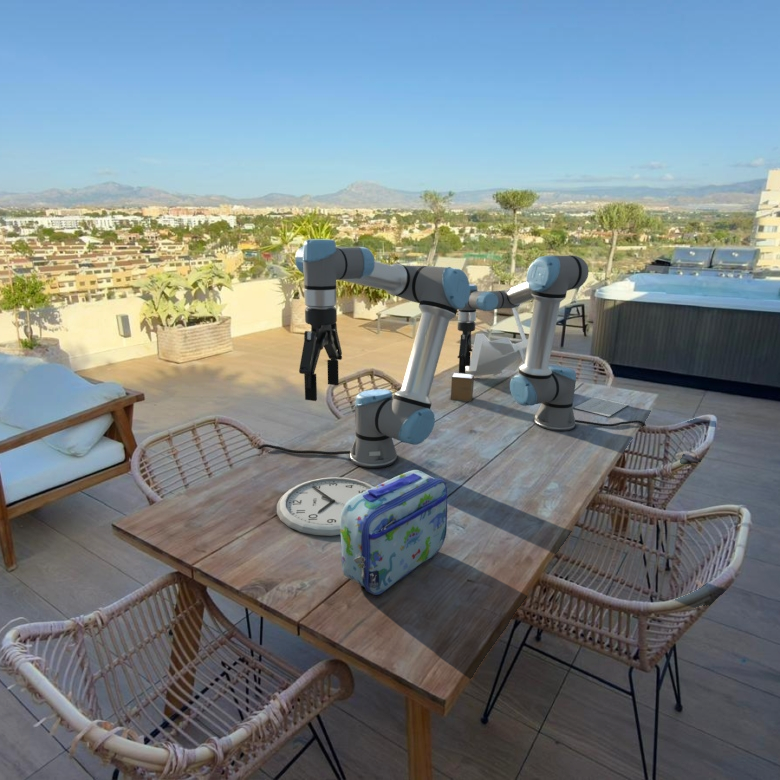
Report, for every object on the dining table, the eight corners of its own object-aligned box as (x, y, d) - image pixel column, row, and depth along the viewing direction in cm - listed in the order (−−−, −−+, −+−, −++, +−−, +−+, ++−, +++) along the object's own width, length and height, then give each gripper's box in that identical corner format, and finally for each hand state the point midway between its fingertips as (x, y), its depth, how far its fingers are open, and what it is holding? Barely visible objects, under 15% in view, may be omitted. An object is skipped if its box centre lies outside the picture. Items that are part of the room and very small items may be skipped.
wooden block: (453, 395, 238) (454, 373, 235) (472, 397, 236) (474, 374, 233) (450, 399, 233) (451, 376, 230) (470, 401, 230) (472, 378, 227)
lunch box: (368, 607, 104) (369, 515, 98) (334, 582, 112) (333, 494, 106) (451, 554, 122) (455, 472, 116) (417, 535, 129) (420, 457, 123)
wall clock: (392, 527, 129) (268, 531, 127) (391, 533, 130) (269, 537, 127) (383, 473, 158) (282, 475, 155) (383, 478, 158) (282, 480, 156)
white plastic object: (482, 418, 266) (461, 395, 241) (463, 346, 288) (443, 318, 264) (553, 394, 254) (538, 368, 229) (528, 321, 276) (512, 289, 251)
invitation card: (608, 416, 214) (573, 407, 224) (608, 416, 214) (573, 408, 224) (628, 404, 229) (594, 396, 238) (628, 405, 229) (594, 397, 238)
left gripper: (327, 299, 137) (328, 377, 143) (281, 313, 114) (285, 405, 120) (353, 301, 135) (354, 380, 141) (313, 315, 112) (315, 409, 118)
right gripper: (462, 316, 237) (460, 362, 243) (452, 325, 214) (450, 375, 220) (479, 317, 235) (476, 363, 240) (471, 326, 212) (468, 376, 217)
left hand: (322, 392), depth 130 cm, fingers open, 13 cm apart
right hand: (464, 369), depth 230 cm, fingers open, 13 cm apart
